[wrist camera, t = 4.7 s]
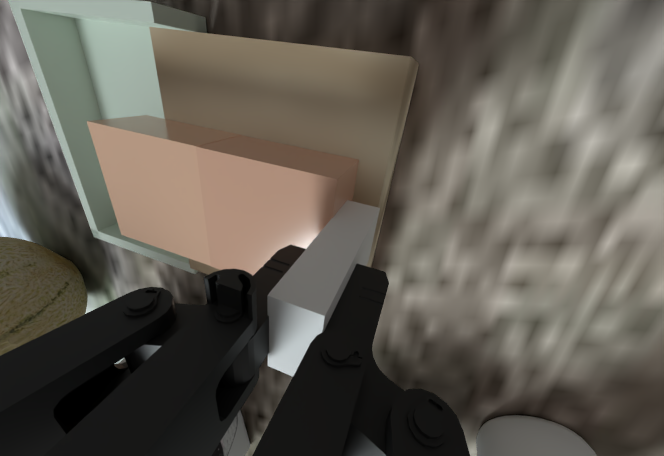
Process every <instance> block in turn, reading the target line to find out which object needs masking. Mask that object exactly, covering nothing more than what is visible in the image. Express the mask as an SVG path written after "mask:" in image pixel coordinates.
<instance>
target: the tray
mask: <svg viewBox="0 0 664 456" xmlns="http://www.w3.org/2000/svg"><path fill="white" fill-rule="evenodd" d="M8 1H9V4H10V7H11V10H12V12H13V15H14V18H15V21H16V23H17V26H18V29H19V32H20V35H21V37H22V40H23V43H24V46H25V48H26V51H27V54H28V57H29V59H30V62H31V65H32V68H33V71H34V73H35V76H36V79H37V82H38V84H39V87H40V90H41V93H42V95H43V98H44V101H45V104H46V106H47V109H48V112H49V115H50V118H51V120H52V123H53V126H54V129H55V131H56V134H57V137H58V140H59V142H60V145H61V148H62V151H63V154H64V156H65V159H66V162H67V165H68V167H69V170H70V173H71V176H72V178H73V181H74V184H75V187H76V190H77V192H78V195H79V198H80V201H81V203H82V206H83V209H84V212H85V214H86V217H87V220H88V223H89V225H90V228H91V231H92V234H93V237H95V238H98V239H101V240H104V241H106V242H109V243H112V244H114V245H117V246H120V247H123V248H125V249H128V250H131V251H133V252H136V253H139V254H141V255H144V256H147V257H150V258H152V259H155V260H158V261H160V262H163V263H166V264H169V265H171V266H174V267H177V268H179V269H182V270H185V271H188V272H190V273H193V274H196V273H197V272H199V271H197V270H194V269H191V268H190V264H189V258H187V257H184V256H181V255H178V254H175V253H172V252H169V251H166V250H164V249H161V248H158V247H155V246H152V245H149V244H146V243H144V242H141V241H138V240H135V239H132V238H129V237H126V236H124V235H121V232H120V229H119V225H118V222H117V219H116V216H115V212H114V209H113V206H112V203H111V199H110V196H109V193H108V190H107V186H106V183H105V180H104V176H103V173H102V170H101V167H100V163H99V160H98V157H97V154H96V150H95V147H94V144H93V140H92V137H91V134H90V131H89V127H88V124H87V121H93V120H102V119H112V118H122V117H132V116H141V115H149V116H153V117H158V118H163V119H165V117H164V111H163V105H162V99H161V93H160V88H159V82H158V76H157V70H156V64H155V58H154V52H153V47H152V41H151V35H150V29H149V27H156V28H165V29H174V30H183V31H191V32H200V33H207V28H206V17H203V16H199V15H196V14H192V13H189V12H186V11H182V10H179V9H175V8H172V7H168V6H165V5H161V4H158V3H154V2H150V1H138V0H8Z"/></svg>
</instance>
